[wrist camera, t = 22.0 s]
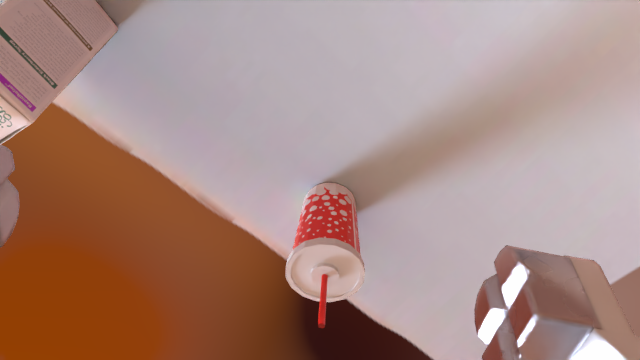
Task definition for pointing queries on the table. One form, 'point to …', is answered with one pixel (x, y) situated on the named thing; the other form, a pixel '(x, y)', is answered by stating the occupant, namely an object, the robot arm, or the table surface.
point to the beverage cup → (326, 248)
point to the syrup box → (44, 54)
